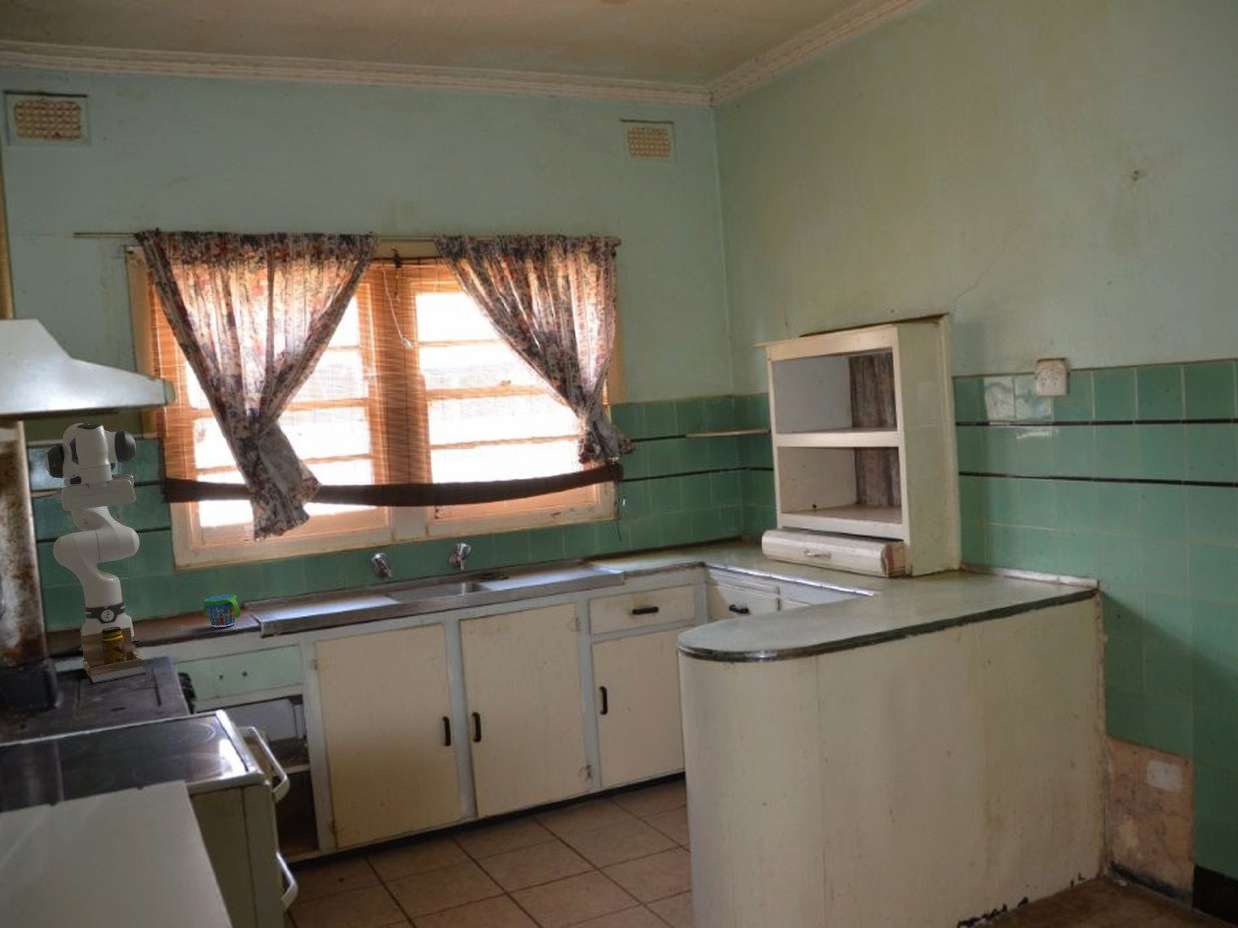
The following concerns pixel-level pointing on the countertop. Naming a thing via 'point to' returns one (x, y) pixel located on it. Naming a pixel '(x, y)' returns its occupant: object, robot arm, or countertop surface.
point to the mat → (118, 674)
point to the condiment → (113, 646)
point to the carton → (96, 658)
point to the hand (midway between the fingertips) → (101, 521)
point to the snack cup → (221, 609)
